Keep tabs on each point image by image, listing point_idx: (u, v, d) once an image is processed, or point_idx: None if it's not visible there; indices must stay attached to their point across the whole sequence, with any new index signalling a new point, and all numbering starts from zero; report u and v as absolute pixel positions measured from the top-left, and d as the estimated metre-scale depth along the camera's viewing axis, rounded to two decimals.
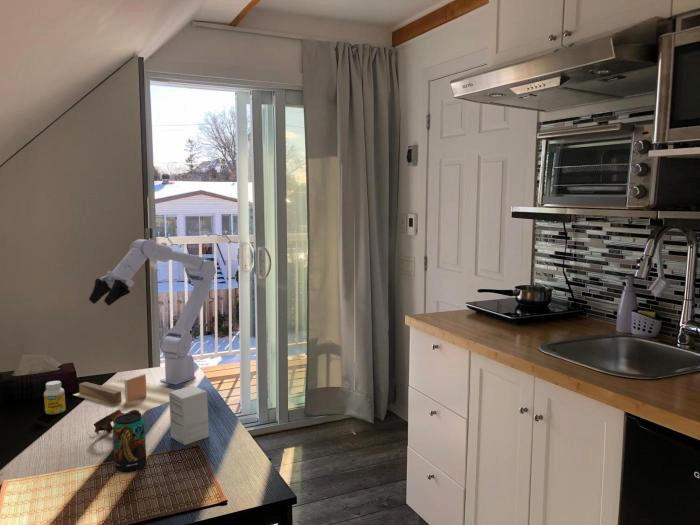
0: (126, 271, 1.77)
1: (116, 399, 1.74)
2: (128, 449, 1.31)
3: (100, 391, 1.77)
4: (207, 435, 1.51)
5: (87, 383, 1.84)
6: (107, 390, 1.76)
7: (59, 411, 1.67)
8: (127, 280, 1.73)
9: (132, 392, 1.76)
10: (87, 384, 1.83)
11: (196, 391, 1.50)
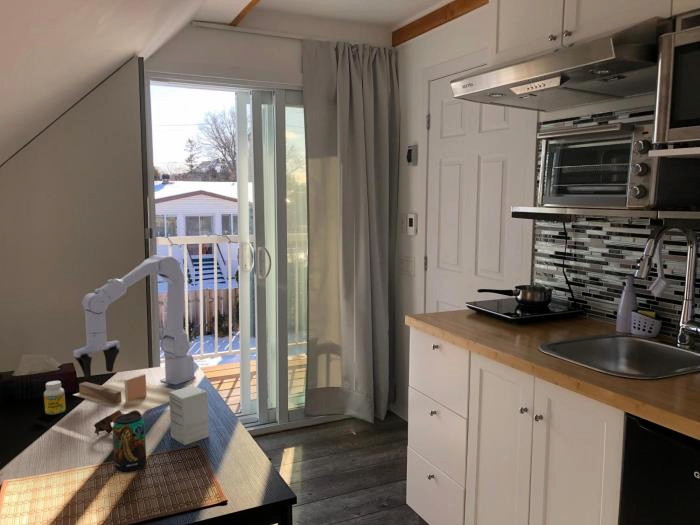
0: None
1: (116, 399, 1.74)
2: (128, 449, 1.31)
3: (100, 391, 1.77)
4: (208, 435, 1.51)
5: (87, 383, 1.84)
6: (107, 390, 1.76)
7: (59, 411, 1.67)
8: None
9: (132, 392, 1.76)
10: (87, 384, 1.83)
11: (196, 391, 1.50)
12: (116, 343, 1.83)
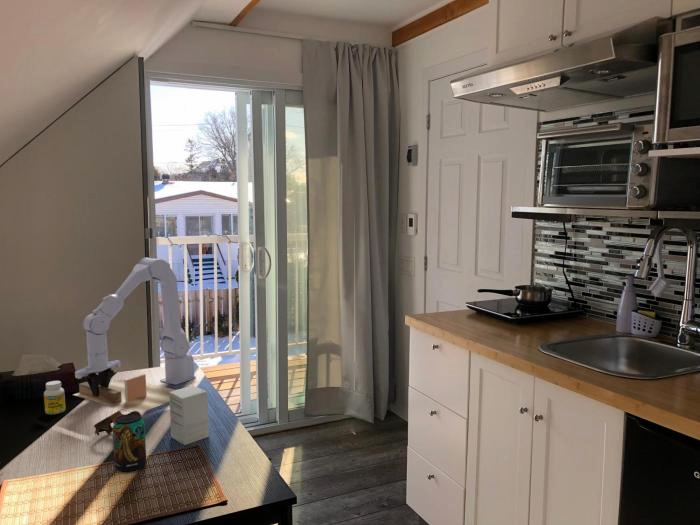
0: (88, 359, 1.77)
1: (116, 399, 1.74)
2: (128, 449, 1.31)
3: (100, 391, 1.77)
4: (207, 435, 1.51)
5: (87, 383, 1.84)
6: (107, 390, 1.76)
7: (59, 411, 1.67)
8: None
9: (132, 392, 1.76)
10: (87, 384, 1.83)
11: (196, 391, 1.50)
12: (117, 363, 1.83)
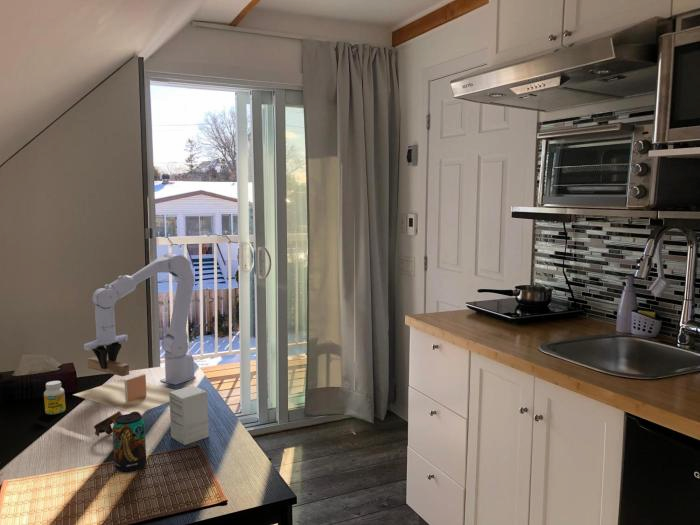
0: (96, 332, 1.81)
1: (124, 372, 1.79)
2: (128, 449, 1.31)
3: (108, 365, 1.82)
4: (207, 435, 1.51)
5: (95, 358, 1.88)
6: (115, 364, 1.81)
7: (59, 411, 1.67)
8: None
9: (132, 392, 1.76)
10: (95, 358, 1.87)
11: (196, 391, 1.50)
12: (124, 337, 1.88)
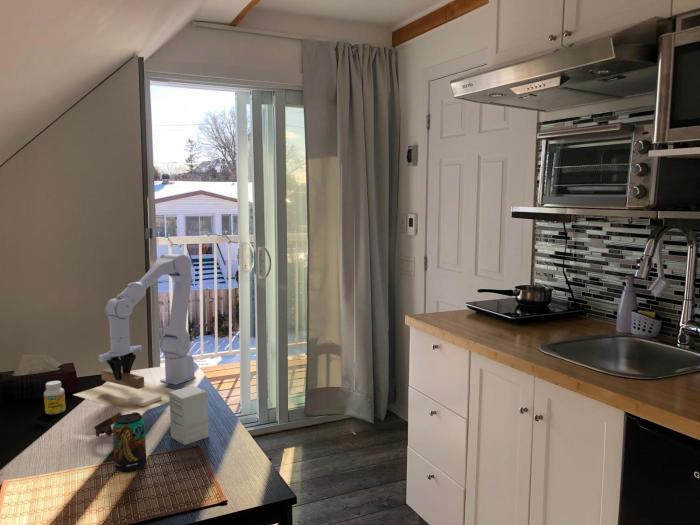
0: None
1: (139, 385, 1.76)
2: (128, 449, 1.31)
3: (123, 377, 1.79)
4: (207, 435, 1.51)
5: (109, 369, 1.85)
6: (130, 376, 1.77)
7: (59, 411, 1.67)
8: None
9: None
10: (109, 370, 1.84)
11: (196, 391, 1.50)
12: (139, 348, 1.85)
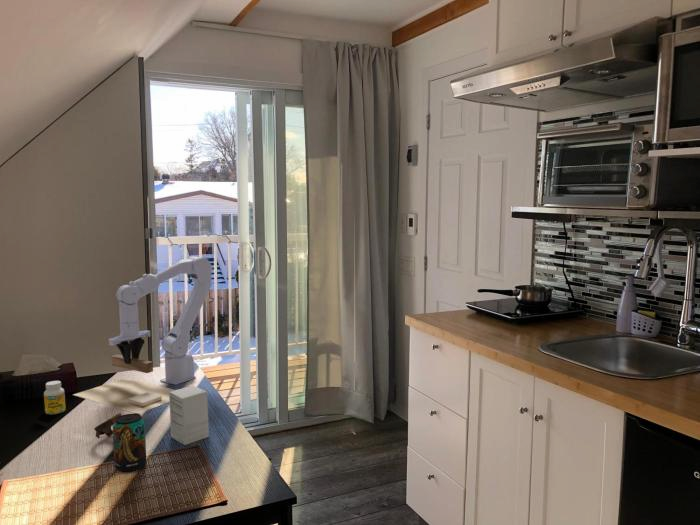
0: (120, 328, 1.86)
1: (148, 369, 1.84)
2: (128, 449, 1.31)
3: (132, 362, 1.87)
4: (208, 435, 1.51)
5: (119, 355, 1.93)
6: (139, 361, 1.85)
7: (59, 411, 1.67)
8: None
9: None
10: (119, 356, 1.92)
11: (196, 391, 1.50)
12: (147, 333, 1.93)
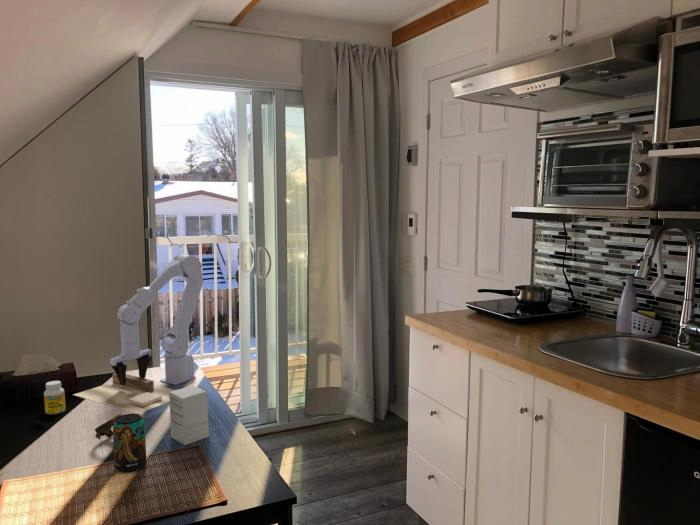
0: (121, 347, 1.87)
1: (149, 388, 1.84)
2: (128, 449, 1.31)
3: (133, 381, 1.87)
4: (208, 435, 1.51)
5: None
6: (140, 380, 1.86)
7: (59, 411, 1.67)
8: None
9: None
10: None
11: (196, 391, 1.50)
12: (148, 351, 1.93)
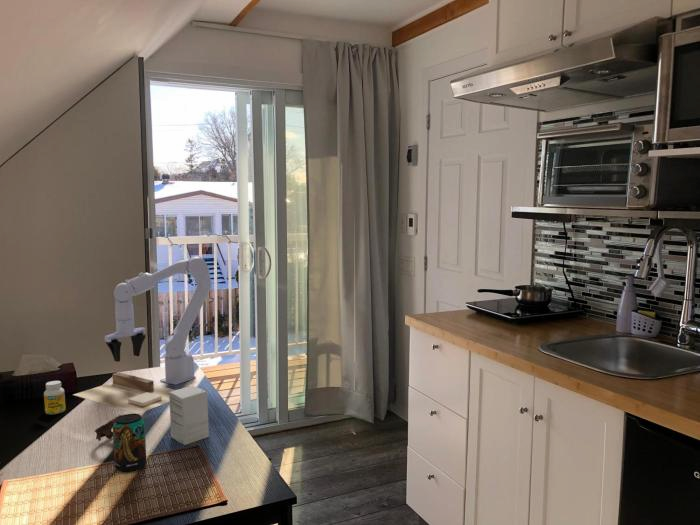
0: (116, 325, 1.90)
1: (149, 388, 1.84)
2: (128, 449, 1.31)
3: (133, 381, 1.87)
4: (207, 435, 1.51)
5: (120, 373, 1.94)
6: (140, 380, 1.86)
7: (59, 411, 1.67)
8: None
9: None
10: (120, 374, 1.93)
11: (196, 391, 1.50)
12: (142, 329, 1.97)
